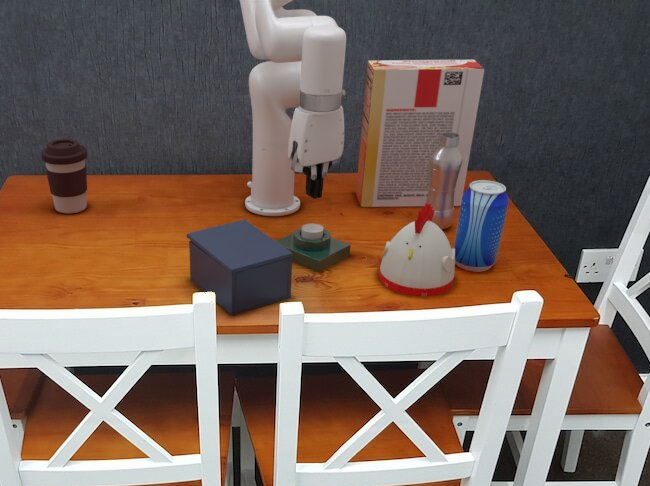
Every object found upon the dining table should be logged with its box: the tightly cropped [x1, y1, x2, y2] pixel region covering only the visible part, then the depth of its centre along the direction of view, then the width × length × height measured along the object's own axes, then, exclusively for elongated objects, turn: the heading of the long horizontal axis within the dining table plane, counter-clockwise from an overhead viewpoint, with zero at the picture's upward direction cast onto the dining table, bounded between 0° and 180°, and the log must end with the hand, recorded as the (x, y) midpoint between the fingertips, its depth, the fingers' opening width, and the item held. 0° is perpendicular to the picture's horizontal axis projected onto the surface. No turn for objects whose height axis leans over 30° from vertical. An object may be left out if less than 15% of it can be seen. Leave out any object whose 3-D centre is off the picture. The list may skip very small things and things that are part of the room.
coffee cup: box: [40, 138, 88, 215], centre depth 175 cm, size 10×10×15 cm
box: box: [188, 240, 293, 317], centre depth 145 cm, size 16×13×8 cm
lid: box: [186, 219, 293, 273], centre depth 143 cm, size 16×13×1 cm
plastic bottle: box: [426, 132, 462, 230], centre depth 164 cm, size 6×7×20 cm
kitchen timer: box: [378, 203, 456, 298], centre depth 146 cm, size 14×14×15 cm
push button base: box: [275, 227, 351, 273], centre depth 158 cm, size 12×10×4 cm
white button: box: [301, 222, 325, 240], centre depth 156 cm, size 4×4×2 cm
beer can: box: [453, 179, 510, 273], centre depth 151 cm, size 8×8×16 cm
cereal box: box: [355, 59, 485, 208], centre depth 174 cm, size 23×8×30 cm, turn 91°
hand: (313, 195), depth 153 cm, fingers closed
